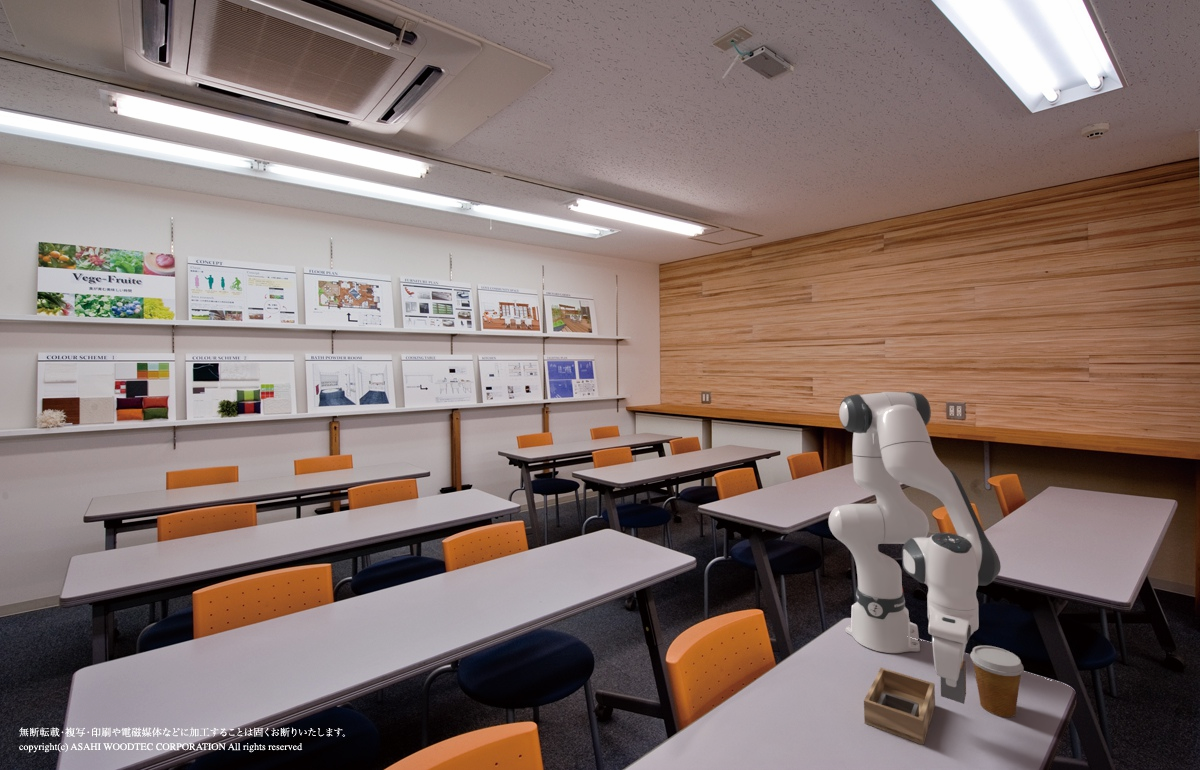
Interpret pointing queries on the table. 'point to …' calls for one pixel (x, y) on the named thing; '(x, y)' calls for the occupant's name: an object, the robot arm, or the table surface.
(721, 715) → the table surface
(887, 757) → the table surface
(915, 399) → the robot arm
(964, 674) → the block
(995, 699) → the disposable coffee cup
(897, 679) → the box
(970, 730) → the table surface
